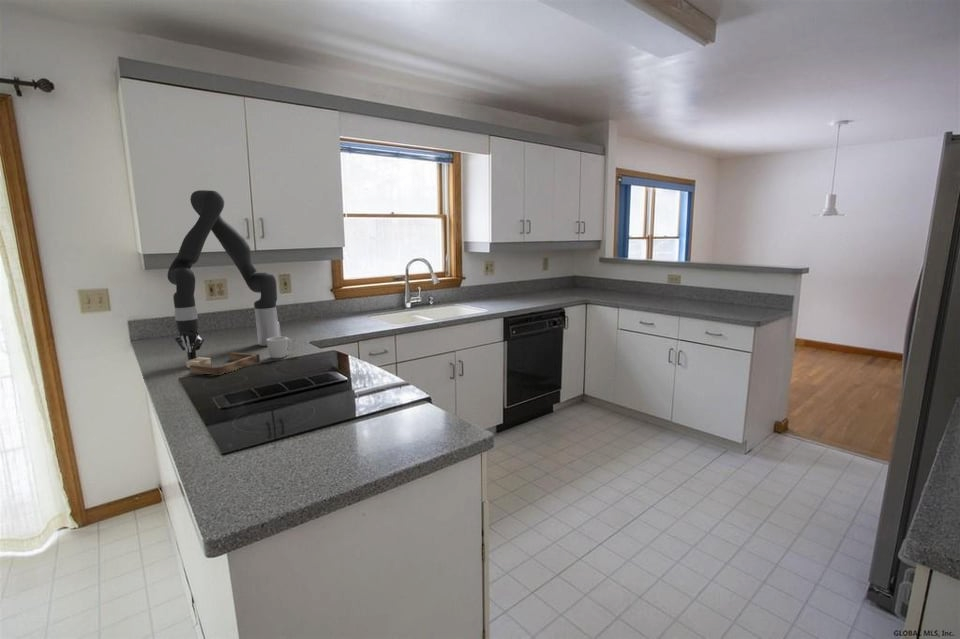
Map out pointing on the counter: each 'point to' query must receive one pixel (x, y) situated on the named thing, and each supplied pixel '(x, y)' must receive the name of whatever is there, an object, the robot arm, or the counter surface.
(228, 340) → the counter surface
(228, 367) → the wooden u-shaped bracket
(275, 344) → the cup
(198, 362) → the maple tile
